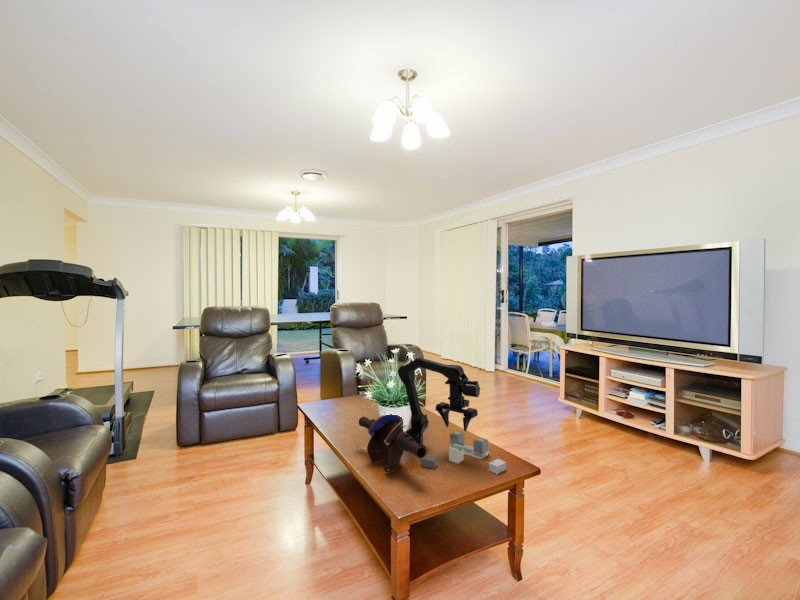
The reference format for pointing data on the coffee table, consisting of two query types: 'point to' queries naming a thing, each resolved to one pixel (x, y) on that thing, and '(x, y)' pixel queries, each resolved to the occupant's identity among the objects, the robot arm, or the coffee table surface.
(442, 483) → the coffee table surface
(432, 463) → the block
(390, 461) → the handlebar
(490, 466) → the terminal block
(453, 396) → the robot arm
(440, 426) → the coffee table surface
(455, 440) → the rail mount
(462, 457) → the block
